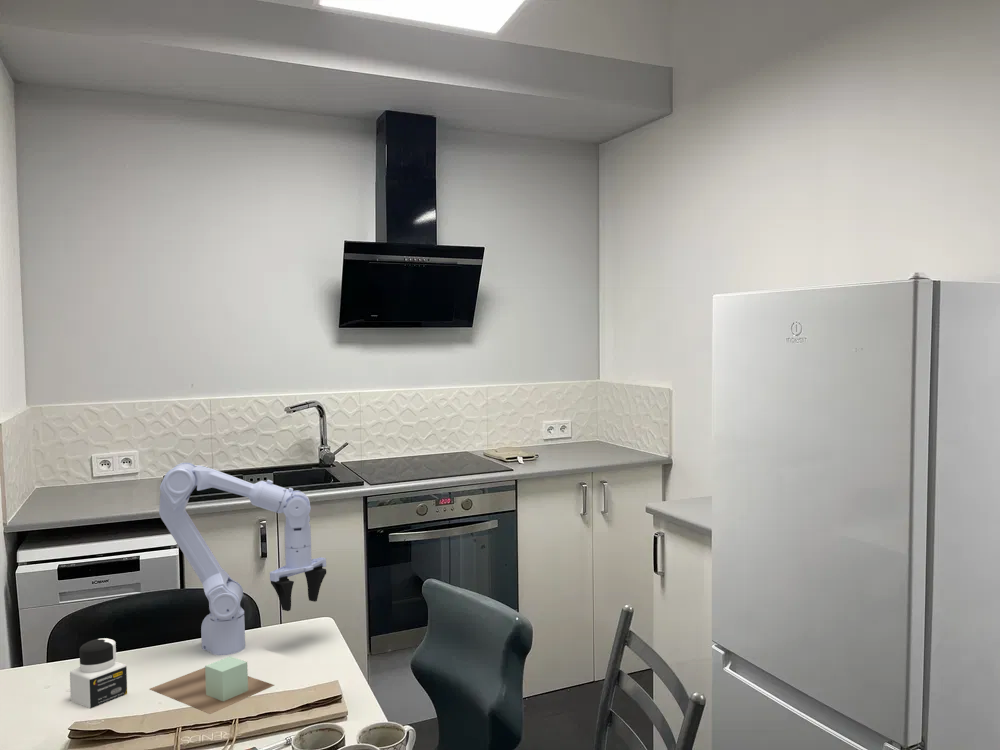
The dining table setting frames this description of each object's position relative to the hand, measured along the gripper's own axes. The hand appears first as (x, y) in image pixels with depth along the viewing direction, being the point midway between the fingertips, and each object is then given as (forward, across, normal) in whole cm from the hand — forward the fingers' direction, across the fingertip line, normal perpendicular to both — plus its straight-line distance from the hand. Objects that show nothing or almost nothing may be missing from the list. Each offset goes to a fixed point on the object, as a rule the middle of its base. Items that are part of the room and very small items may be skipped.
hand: (299, 605), depth 166 cm
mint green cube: (+8, -26, -10) cm, 29 cm away
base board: (+9, -26, -5) cm, 28 cm away
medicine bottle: (+10, -40, +10) cm, 42 cm away
